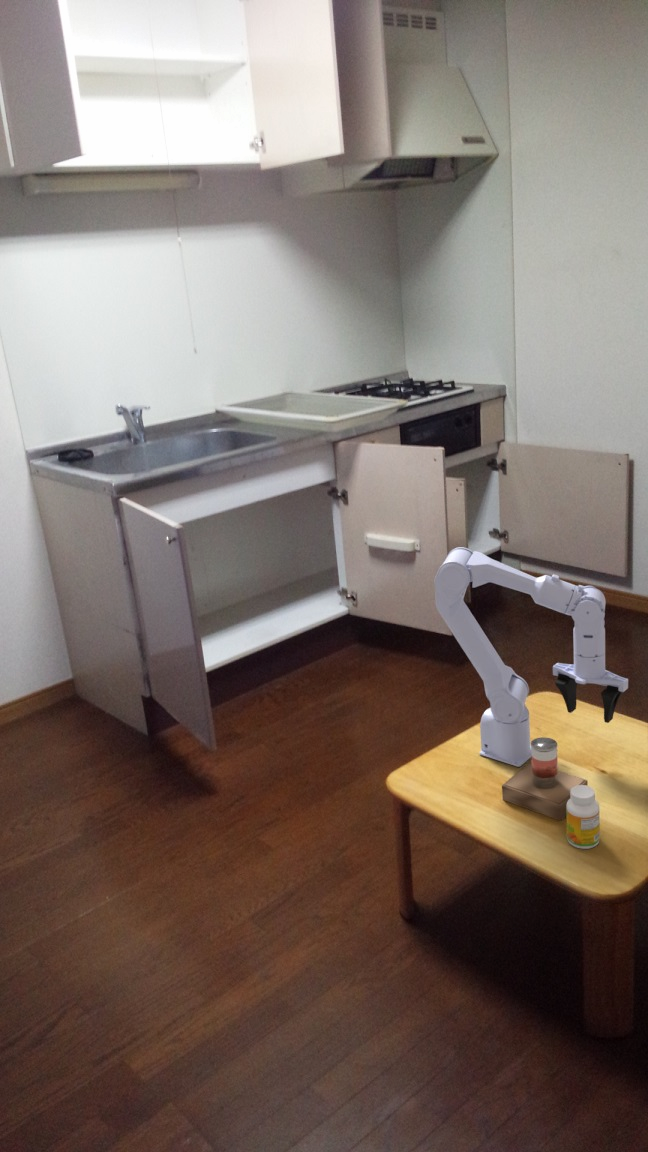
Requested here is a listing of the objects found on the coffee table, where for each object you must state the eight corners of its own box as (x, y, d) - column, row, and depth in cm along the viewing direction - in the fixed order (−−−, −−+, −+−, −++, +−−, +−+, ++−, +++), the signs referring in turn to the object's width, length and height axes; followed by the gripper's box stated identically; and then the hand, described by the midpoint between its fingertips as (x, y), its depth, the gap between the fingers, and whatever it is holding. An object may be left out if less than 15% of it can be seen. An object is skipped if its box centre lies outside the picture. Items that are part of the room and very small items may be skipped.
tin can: (527, 783, 166) (525, 745, 164) (540, 772, 169) (539, 734, 167) (549, 791, 163) (548, 753, 160) (563, 780, 166) (562, 742, 163)
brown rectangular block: (502, 799, 168) (501, 785, 167) (530, 775, 174) (529, 761, 173) (561, 820, 160) (560, 805, 159) (587, 794, 166) (587, 779, 165)
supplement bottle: (562, 833, 156) (561, 784, 153) (592, 828, 156) (592, 780, 153) (573, 851, 151) (572, 802, 148) (604, 847, 151) (604, 797, 148)
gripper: (544, 651, 172) (545, 714, 176) (616, 667, 162) (616, 734, 166) (562, 638, 176) (563, 700, 181) (633, 653, 167) (632, 718, 171)
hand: (590, 715), depth 174 cm, fingers open, 7 cm apart
